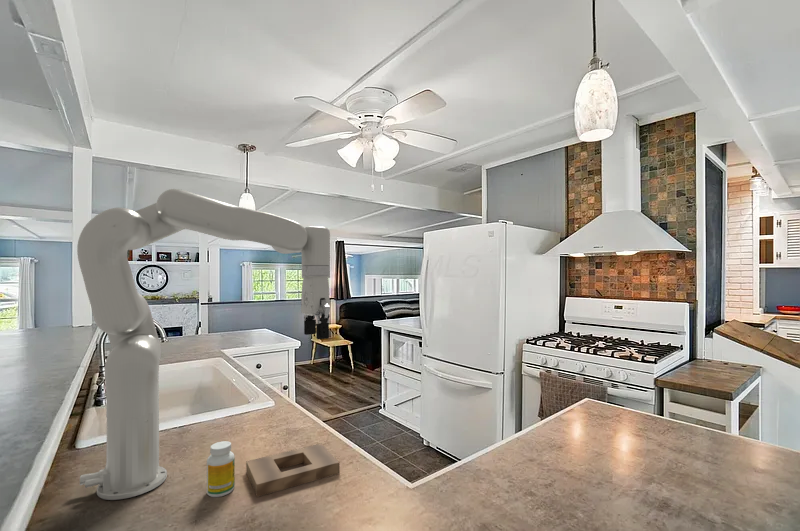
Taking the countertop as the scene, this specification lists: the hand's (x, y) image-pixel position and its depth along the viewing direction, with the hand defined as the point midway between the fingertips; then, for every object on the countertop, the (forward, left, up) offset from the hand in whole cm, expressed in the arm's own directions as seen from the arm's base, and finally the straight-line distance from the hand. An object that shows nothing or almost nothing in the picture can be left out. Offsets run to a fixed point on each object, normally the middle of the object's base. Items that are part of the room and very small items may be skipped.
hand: (316, 336), depth 106 cm
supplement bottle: (-25, -11, -29) cm, 40 cm away
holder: (-10, -12, -29) cm, 32 cm away
